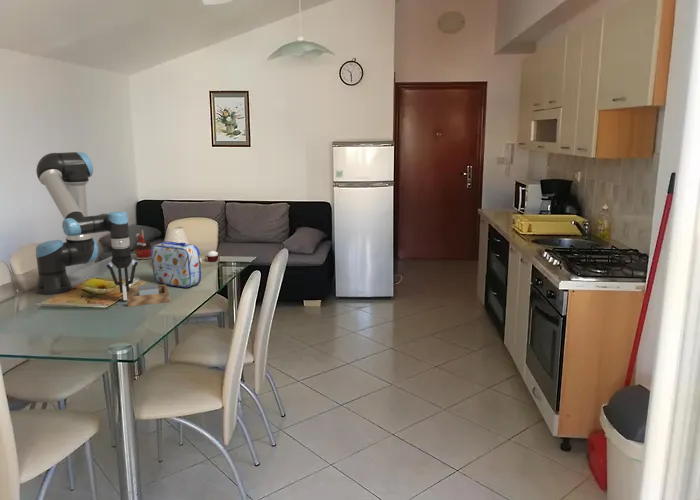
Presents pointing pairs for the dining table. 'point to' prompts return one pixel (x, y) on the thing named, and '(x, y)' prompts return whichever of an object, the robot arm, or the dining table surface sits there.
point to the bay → (147, 296)
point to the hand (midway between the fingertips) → (125, 299)
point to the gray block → (148, 289)
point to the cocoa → (213, 255)
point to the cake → (142, 248)
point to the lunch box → (176, 264)
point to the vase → (176, 235)
